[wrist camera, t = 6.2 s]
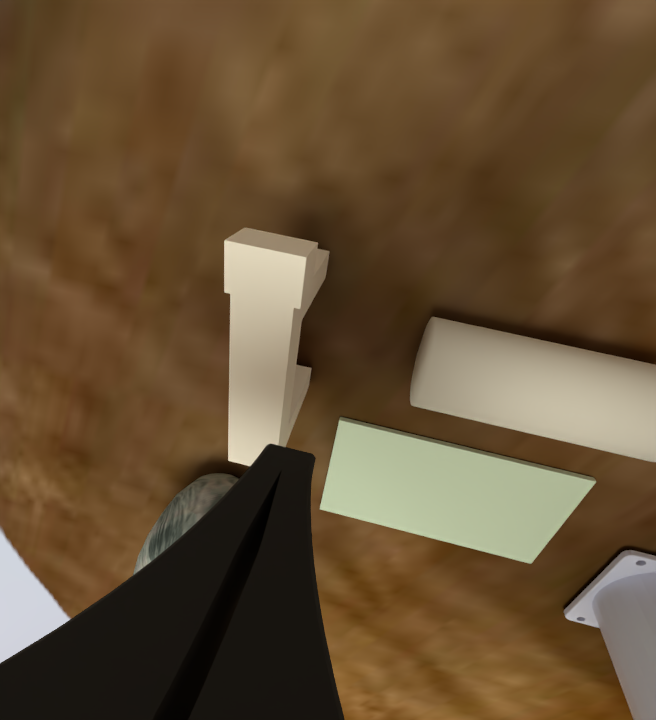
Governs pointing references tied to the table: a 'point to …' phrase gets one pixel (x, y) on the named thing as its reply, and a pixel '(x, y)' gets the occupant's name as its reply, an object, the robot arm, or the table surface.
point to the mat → (448, 490)
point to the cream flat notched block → (267, 335)
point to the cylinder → (537, 387)
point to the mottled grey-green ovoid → (184, 514)
